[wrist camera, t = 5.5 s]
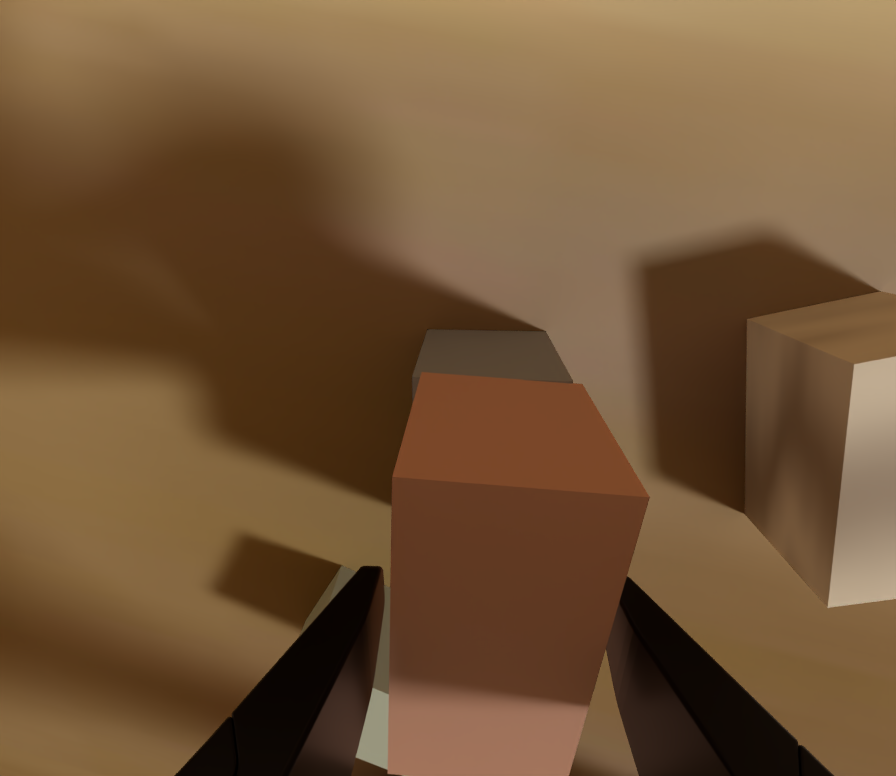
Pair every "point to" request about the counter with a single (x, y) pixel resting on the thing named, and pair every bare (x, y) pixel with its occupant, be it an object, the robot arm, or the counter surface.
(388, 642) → the sage block
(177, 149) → the counter surface
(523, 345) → the slate block
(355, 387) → the counter surface
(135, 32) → the counter surface
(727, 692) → the robot arm
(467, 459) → the terracotta block
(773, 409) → the birch block
